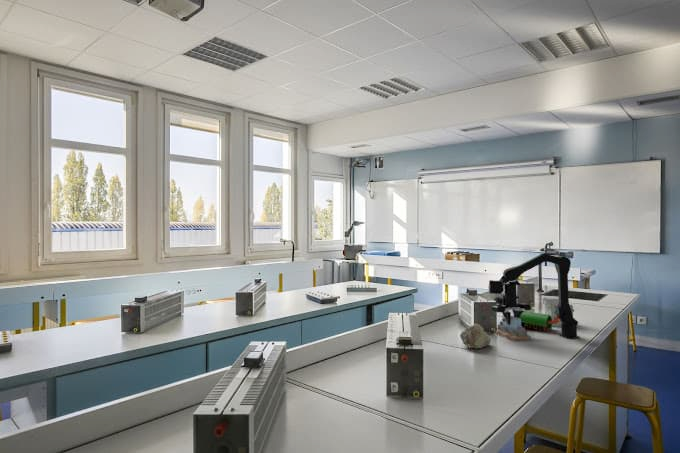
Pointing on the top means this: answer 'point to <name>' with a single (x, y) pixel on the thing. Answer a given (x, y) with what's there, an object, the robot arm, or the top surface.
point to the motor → (537, 320)
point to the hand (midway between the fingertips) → (511, 324)
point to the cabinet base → (512, 332)
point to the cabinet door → (512, 322)
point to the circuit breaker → (553, 307)
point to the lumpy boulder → (475, 337)
